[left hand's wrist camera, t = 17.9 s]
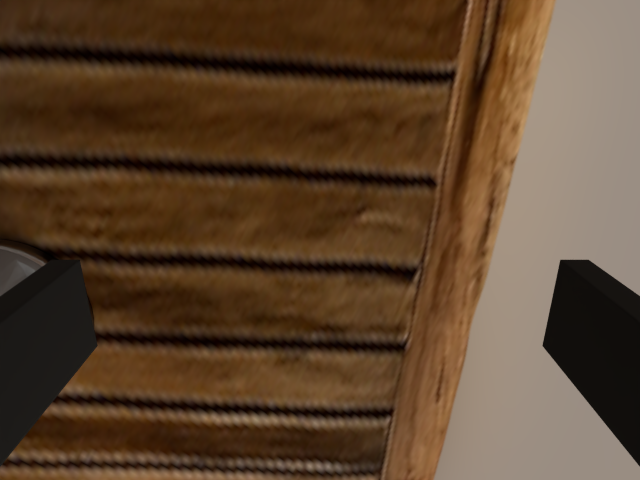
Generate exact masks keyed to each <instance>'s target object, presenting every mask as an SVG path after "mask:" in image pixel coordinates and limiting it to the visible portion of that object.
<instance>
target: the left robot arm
mask: <svg viewBox="0 0 640 480" xmlns="http://www.w3.org/2000/svg"><path fill="white" fill-rule="evenodd" d="M96 347H97V341H96V336H95V332H94V318H93V312H92V308H91V305H90V302H89V299H88V297H87V293H86V288H85V283H84V279H83V274H82V269H81V264H80V260H55V259H54V258H52V257H51V256H49V255H48V254H46V253H44V252H42V251H40V250H38V249H36V248H34V247H31V246H29V245H26V244H23V243H19V242H15V241H10V240H3V239H0V466H1V465H2V464H3V462H4V461H5V460H6V459H7V457H8V456H9V455H10V454H11V452H12V451H13V450H14V449H15V447H16V446H17V445H18V444H19V442H20V441H21V440H22V439H23V437H24V436H25V435H26V434H27V433H28V431H29V430H30V429H31V428H32V426H33V425H34V424H35V423H36V421H37V420H38V419H39V418H40V416H41V415H42V414H43V413H44V411H45V410H46V409H47V408H48V406H49V405H50V404H51V403H52V402H53V400H54V399H55V398H56V397H57V395H58V394H59V393H60V392H61V390H62V389H63V388H64V387H65V385H66V384H67V383H68V382H69V380H70V379H71V378H72V377H73V375H74V374H75V373H76V372H77V371H78V369H79V368H80V367H81V366H82V364H83V363H84V362H85V361H86V359H87V358H88V357H89V356H90V354H91V353H92V352H93V351H94V349H95V348H96ZM543 347H544V348H545V349H546V351H547V352H548V353H549V354H550V356H551V357H552V358H553V359H554V361H555V362H556V363H557V364H558V366H559V367H560V368H561V369H562V371H563V372H564V373H565V374H566V375H567V377H568V378H569V379H570V380H571V382H572V383H573V384H574V385H575V387H576V388H577V389H578V390H579V392H580V393H581V394H582V395H583V397H584V398H585V399H586V400H587V402H588V403H589V404H590V405H591V406H592V408H593V409H594V410H595V411H596V413H597V414H598V415H599V416H600V418H601V419H602V420H603V421H604V423H605V424H606V425H607V426H608V428H609V429H610V430H611V431H612V432H613V434H614V435H615V436H616V437H617V439H618V440H619V441H620V442H621V444H622V445H623V446H624V447H625V449H626V450H627V451H628V452H629V454H630V455H631V456H632V457H633V459H634V460H635V461H636V462H637V463H638V465H639V466H640V296H639V295H637V294H636V293H634V292H633V291H632V290H630V289H629V288H627V287H626V286H625V285H623V284H622V283H620V282H619V281H618V280H616V279H615V278H613V277H612V276H611V275H609V274H608V273H606V272H605V271H603V270H602V269H601V268H599V267H598V266H596V265H595V264H594V263H592V262H591V261H589V260H560V264H559V269H558V274H557V279H556V284H555V288H554V293H553V298H552V303H551V308H550V312H549V317H548V322H547V327H546V332H545V336H544V341H543Z"/></svg>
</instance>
